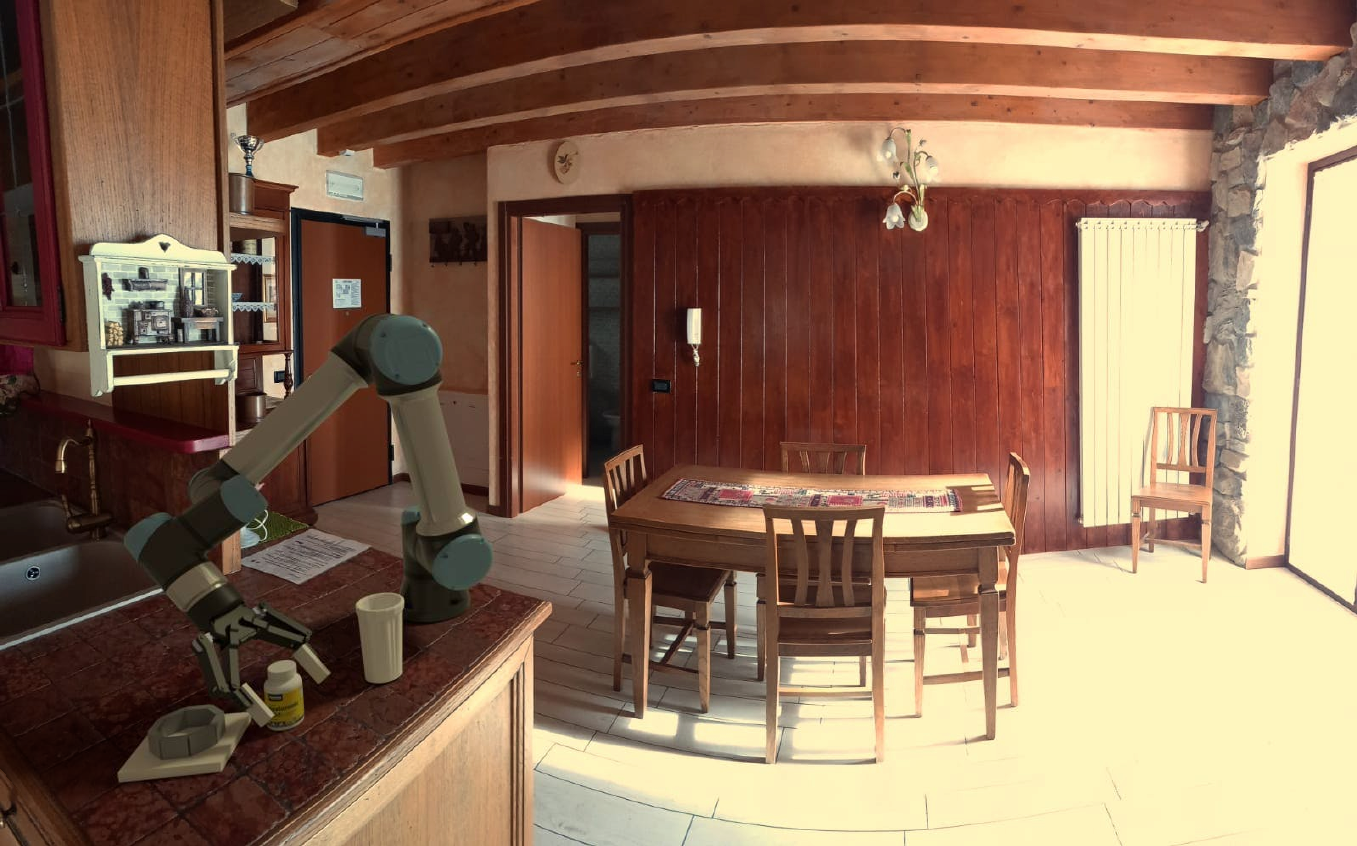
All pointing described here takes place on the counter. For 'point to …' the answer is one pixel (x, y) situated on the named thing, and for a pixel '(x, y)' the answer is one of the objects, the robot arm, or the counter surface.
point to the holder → (186, 744)
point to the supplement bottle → (284, 695)
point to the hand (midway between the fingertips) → (297, 698)
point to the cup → (381, 636)
